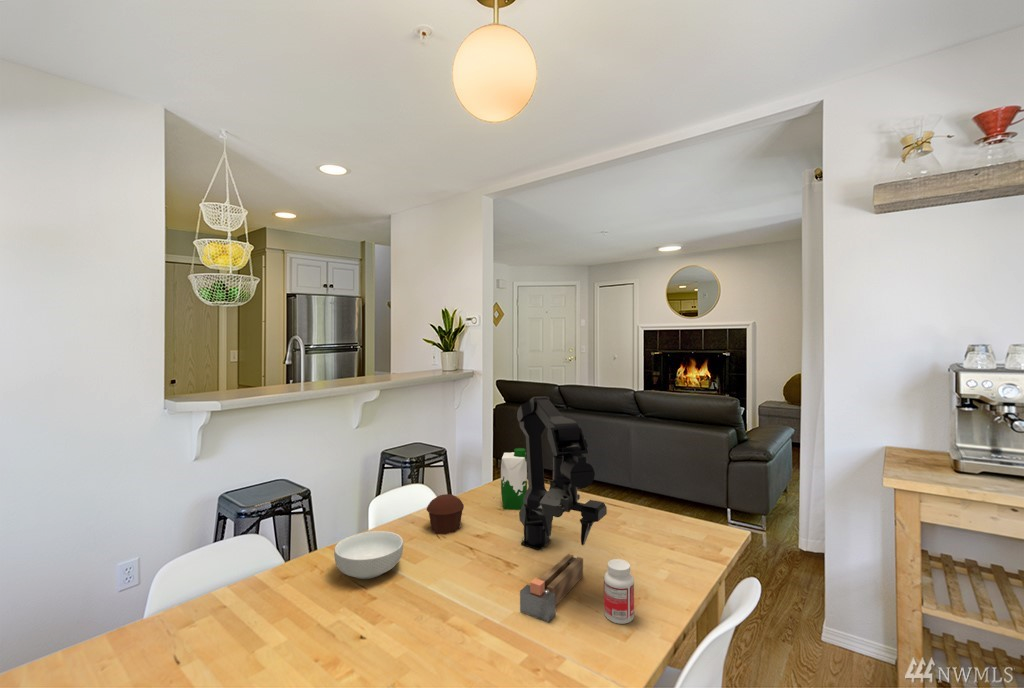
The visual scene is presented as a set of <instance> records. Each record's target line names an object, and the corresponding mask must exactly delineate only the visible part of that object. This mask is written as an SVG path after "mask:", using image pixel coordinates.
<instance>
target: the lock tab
mask: <svg viewBox="0 0 1024 688" xmlns="http://www.w3.org/2000/svg"><path fill="white" fill-rule="evenodd" d="M529 585H530V593H533V594H536V595H539V596H541V595H542V594H543V593H544V592H545V581H542V580H540V579H538V578H536V577H534V579H532V580H531V581H530V582H529Z"/></svg>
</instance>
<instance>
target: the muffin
mask: <svg viewBox="0 0 1024 688" xmlns="http://www.w3.org/2000/svg"><path fill="white" fill-rule="evenodd" d="M464 509H465V506H464V503H463V501H462V500H461V499H460V498H459V497H458V496H456V495H454V494H450V493H449V494H448V493H445V494H441V495H438V496H436V497H434V498H433V499H432V500H431V501H430V502H429V503H428V505H427V506H426V511H427V512H428V517H429V522H430V528H431V532H433V533H435V534H436V535H437V534H438V535H449V534H454V533H456V532H457V531H458V530H460V529H461V523H462V515H463V510H464Z"/></svg>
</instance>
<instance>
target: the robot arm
mask: <svg viewBox="0 0 1024 688" xmlns="http://www.w3.org/2000/svg"><path fill="white" fill-rule="evenodd" d="M516 419H517V421H518V425H519V428H520V430H521V431H522V432H523V434H524V436H525V444H526V445H525V449H526V462H527V491H526V493H525V495H524V504H523V505H522V507H521V510H519V512H518V515H519V516H518V517H519V522H520V523H521V525H523V540H522V541H521V542H520V544H521V545H522V546H526V547H528V548H532V549H536V550H539V551H540V550H543V548H544V547H546V546H547V545H548V544H550V543H551V541H552V540H551V539H550V536H551V534H552V528H553V520H554V518H561V517H562V516H563V514H564V513H570V512H571V511H574V512H580V516H581V518H580V519H579V522H580V524H581V530H580V545H581V546H584V545H585V544H586V541H587V540H588V539H587V538H588V537H589V534H590V531H591V529H592V526H593V525H594V523H595V522H596V523H598V522H599V521H601V520H602V519H603V518H604V517H606V515H608V514H607V512H608V511H607V506H606V504H605V502H603V501H599V500H594V499H589V500H588V501H587V502H585V503H582V502H578V501H579V500H580V499H581V498H580V494H578V489H586V488H588V487H590V485H591V484H593V481H594V479H595V476H596V474H595V469H594V468H593V466H592V464H590V463H589V462H588V461H587V457H586V456H587V454H589V453H588V446H589V445H588V443H587V440H586V438H585V435H584V433H583V429H582V427H581V426H580V424H579V423H578V422H577V421H575V420H574V419H572V418H569V417H565V416H563V415H562V413H561V412H560V411H559V410H558V408H556V407H555V405H554V404H553V403H552V402H551V398H550V397H548V396H545V395H544V396H533V397H531V398H530V399H529V400H528V401H527V402H525V403H522V404H521V405H520V406H519V408H518V409H517V413H516ZM546 429H547V432H546V433H547V440H548V443H549V445H550V448H551V452H552V453H553V454H552V473H553V474H552V475H553V476H552V479H551V480H550V484H549V489H548V490H547V489H546V485H545V484H546V483H545V472H544V471H545V470H544V469H545V468H544V454H543V453H544V452H543V436H542V435H543V434H544V432H545V430H546ZM585 455H586V456H585Z"/></svg>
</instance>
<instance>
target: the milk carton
mask: <svg viewBox="0 0 1024 688" xmlns="http://www.w3.org/2000/svg"><path fill="white" fill-rule="evenodd" d="M513 451H514V452H513ZM513 451H512V452H503V455H502V457H501V465H500V495H501V502H502V509H503V510H519V511H520V510H521V507H522V505H523V504H524V495H525V493H526V491H527V489H528V468H527V450H526V448H524V447H517V448H514V450H513Z"/></svg>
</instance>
